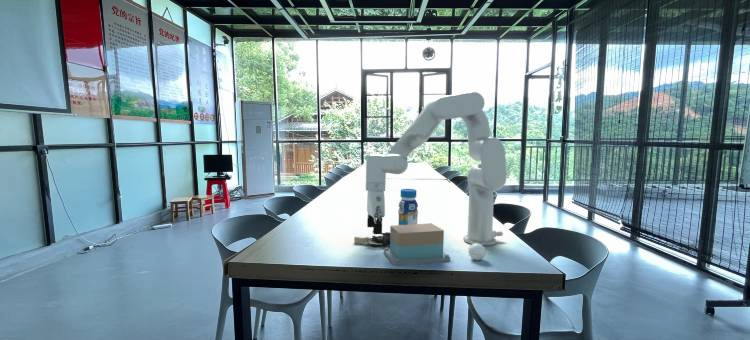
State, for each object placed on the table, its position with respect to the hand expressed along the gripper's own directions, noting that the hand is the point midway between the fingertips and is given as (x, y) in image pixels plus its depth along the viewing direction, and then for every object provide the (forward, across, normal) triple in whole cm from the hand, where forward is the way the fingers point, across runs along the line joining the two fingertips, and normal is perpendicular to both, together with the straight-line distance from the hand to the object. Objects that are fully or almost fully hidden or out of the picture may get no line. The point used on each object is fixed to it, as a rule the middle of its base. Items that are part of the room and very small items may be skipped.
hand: (374, 230), depth 124 cm
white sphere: (+6, -23, -32) cm, 40 cm away
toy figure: (+7, +2, 0) cm, 7 cm away
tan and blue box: (+6, -15, -12) cm, 20 cm away
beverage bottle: (+6, +10, -18) cm, 21 cm away
